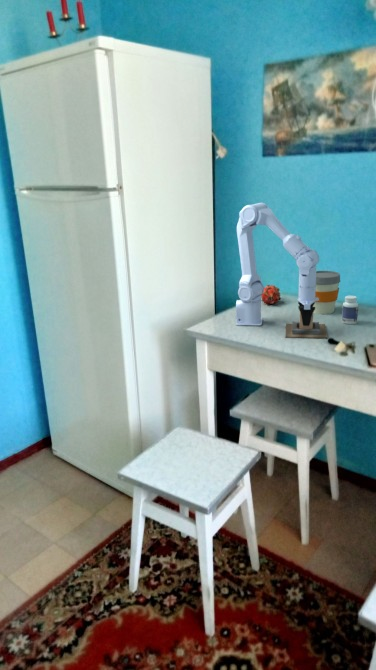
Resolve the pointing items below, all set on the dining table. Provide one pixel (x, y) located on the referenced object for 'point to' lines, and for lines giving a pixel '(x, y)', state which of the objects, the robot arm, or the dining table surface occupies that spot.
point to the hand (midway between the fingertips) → (306, 323)
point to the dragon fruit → (271, 295)
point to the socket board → (305, 331)
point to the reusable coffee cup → (326, 291)
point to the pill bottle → (350, 310)
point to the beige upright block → (306, 326)
